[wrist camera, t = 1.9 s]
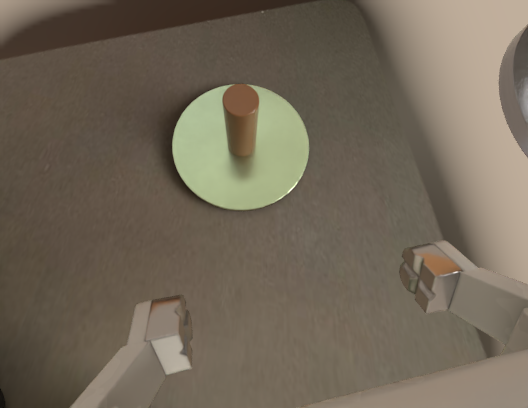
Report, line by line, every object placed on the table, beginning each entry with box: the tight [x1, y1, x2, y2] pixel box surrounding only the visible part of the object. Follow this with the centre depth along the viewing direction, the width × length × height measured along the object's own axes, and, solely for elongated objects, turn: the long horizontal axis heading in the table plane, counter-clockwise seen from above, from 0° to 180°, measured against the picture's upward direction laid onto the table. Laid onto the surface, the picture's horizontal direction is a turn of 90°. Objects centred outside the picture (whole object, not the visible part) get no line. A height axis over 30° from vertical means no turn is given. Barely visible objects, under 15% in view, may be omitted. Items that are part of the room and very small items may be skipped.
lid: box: [172, 84, 309, 211], centre depth 24 cm, size 12×12×8 cm
